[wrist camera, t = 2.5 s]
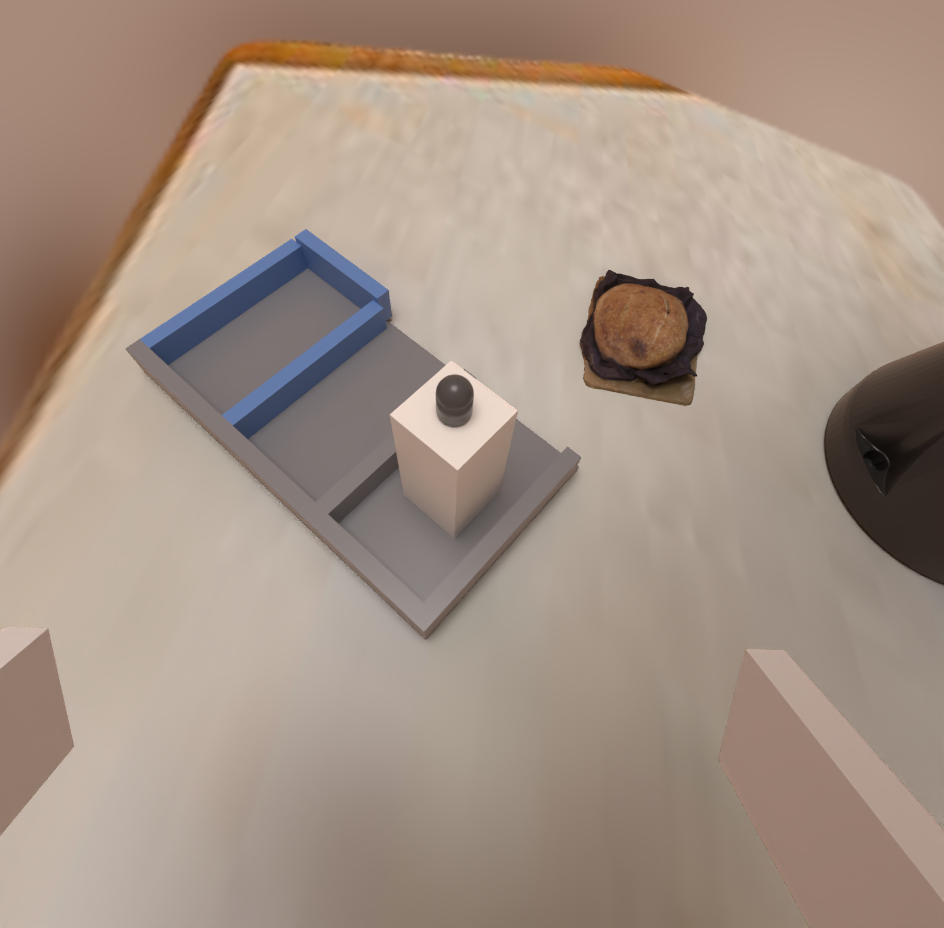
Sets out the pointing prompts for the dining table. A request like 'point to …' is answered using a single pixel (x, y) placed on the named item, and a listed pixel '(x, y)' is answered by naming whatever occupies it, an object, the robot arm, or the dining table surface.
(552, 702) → the dining table surface
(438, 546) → the gray divided tray
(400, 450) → the cream block with knob
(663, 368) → the bun on dark wrapper
